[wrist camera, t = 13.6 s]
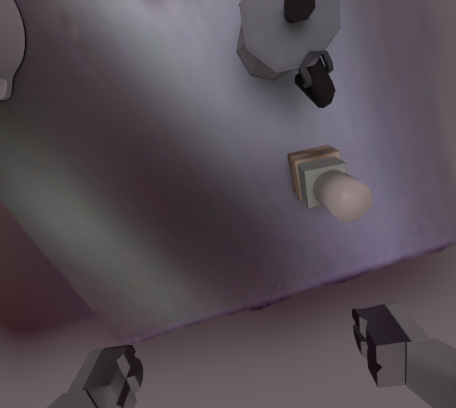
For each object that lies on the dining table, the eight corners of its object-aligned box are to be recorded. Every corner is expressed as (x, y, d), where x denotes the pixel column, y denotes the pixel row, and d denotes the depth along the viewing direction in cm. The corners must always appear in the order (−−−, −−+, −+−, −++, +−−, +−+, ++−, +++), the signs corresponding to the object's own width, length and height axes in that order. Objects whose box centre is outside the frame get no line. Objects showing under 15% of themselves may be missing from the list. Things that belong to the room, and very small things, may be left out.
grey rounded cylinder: (306, 198, 34) (323, 215, 30) (324, 164, 33) (344, 176, 28) (337, 209, 35) (358, 226, 31) (355, 176, 34) (380, 190, 29)
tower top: (301, 197, 39) (308, 208, 35) (297, 163, 37) (304, 171, 34) (336, 190, 39) (348, 200, 35) (334, 156, 37) (345, 163, 33)
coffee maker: (214, 19, 35) (198, -49, 19) (273, -28, 33) (315, -150, 17) (272, 119, 40) (301, 138, 23) (327, 83, 38) (402, 75, 21)
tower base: (293, 190, 44) (300, 201, 39) (287, 153, 42) (294, 161, 37) (331, 182, 43) (343, 192, 39) (327, 144, 41) (339, 151, 37)
